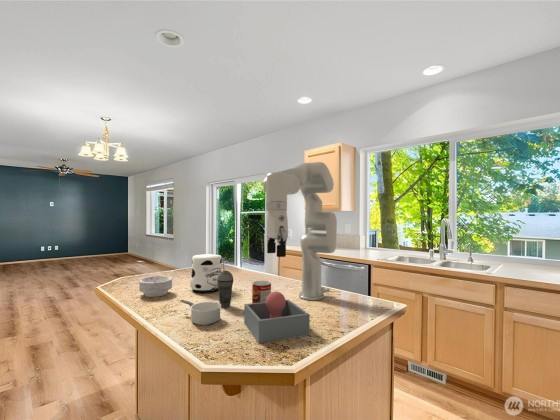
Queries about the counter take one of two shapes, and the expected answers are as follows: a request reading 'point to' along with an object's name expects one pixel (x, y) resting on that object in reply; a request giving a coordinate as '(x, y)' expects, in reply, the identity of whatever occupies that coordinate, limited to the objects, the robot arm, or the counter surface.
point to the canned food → (260, 291)
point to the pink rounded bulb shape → (275, 304)
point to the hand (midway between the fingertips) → (276, 254)
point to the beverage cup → (225, 287)
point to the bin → (276, 322)
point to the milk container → (205, 272)
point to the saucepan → (204, 312)
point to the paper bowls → (155, 285)
